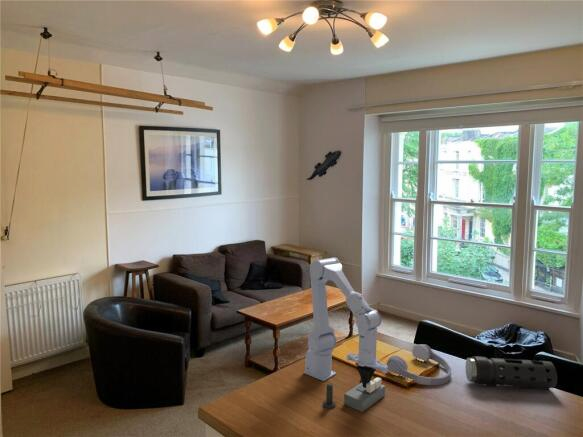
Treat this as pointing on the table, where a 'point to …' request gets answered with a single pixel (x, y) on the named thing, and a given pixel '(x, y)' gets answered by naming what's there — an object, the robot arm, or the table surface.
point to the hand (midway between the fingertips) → (366, 386)
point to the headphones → (424, 353)
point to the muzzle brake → (511, 372)
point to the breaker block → (364, 396)
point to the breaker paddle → (370, 386)
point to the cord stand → (329, 397)
